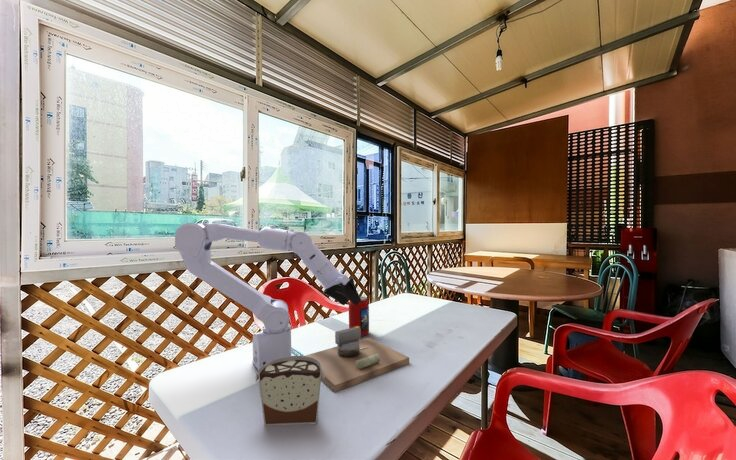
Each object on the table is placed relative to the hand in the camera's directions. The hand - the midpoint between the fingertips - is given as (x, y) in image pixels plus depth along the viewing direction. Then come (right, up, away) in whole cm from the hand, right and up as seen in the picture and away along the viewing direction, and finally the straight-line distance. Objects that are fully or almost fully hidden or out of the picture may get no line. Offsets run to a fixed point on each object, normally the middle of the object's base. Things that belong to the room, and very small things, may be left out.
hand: (351, 302), depth 83 cm
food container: (-9, -14, -28) cm, 33 cm away
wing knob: (-1, -12, -5) cm, 13 cm away
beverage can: (+2, -14, +14) cm, 20 cm away
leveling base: (+1, -14, -7) cm, 16 cm away
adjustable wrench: (-18, -15, +2) cm, 24 cm away
